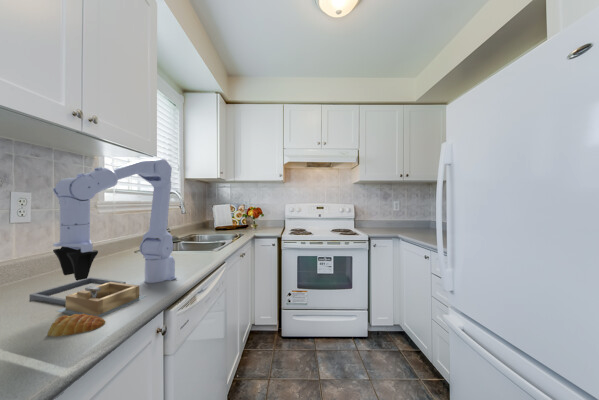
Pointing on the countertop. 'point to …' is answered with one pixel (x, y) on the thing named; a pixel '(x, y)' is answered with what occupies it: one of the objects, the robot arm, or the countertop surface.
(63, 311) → the stake base
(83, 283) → the tray
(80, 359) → the countertop surface
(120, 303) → the wooden frame
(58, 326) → the pastry
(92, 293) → the stake post
